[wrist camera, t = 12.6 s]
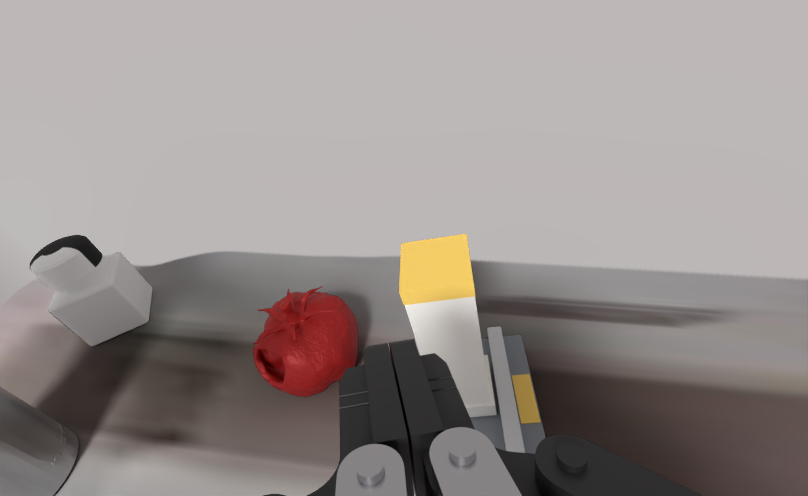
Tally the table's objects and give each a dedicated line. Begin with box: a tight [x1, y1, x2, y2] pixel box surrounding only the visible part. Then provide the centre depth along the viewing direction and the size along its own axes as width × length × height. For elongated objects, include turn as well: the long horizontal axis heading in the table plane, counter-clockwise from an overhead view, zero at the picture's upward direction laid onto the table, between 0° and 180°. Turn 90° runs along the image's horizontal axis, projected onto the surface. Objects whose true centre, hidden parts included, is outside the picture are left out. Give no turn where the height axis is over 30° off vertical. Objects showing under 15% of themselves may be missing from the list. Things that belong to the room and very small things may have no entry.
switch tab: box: [399, 234, 497, 417], centre depth 28 cm, size 4×5×15 cm
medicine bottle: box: [30, 235, 153, 346], centre depth 49 cm, size 7×7×12 cm
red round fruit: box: [253, 286, 358, 397], centre depth 38 cm, size 10×10×9 cm
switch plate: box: [413, 326, 545, 496], centre depth 28 cm, size 24×11×3 cm, turn 178°
